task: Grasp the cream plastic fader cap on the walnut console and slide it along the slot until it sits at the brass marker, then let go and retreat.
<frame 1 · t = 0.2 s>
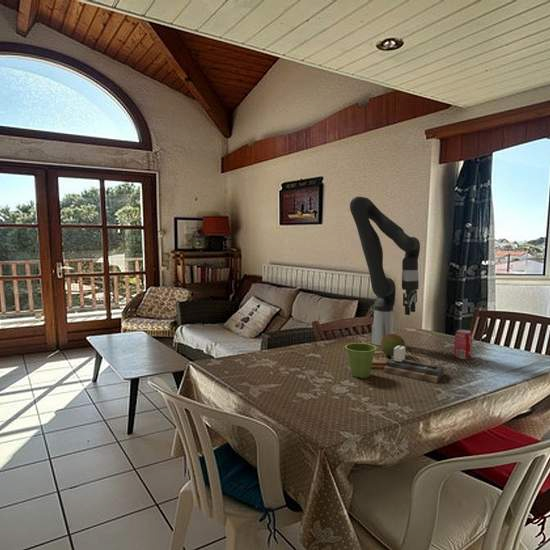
hand: (410, 313, 187), 17 cm above the table, tool pointing down, fingers open, 8 cm apart
fruit: (393, 357, 177), on the table
plant pot: (360, 375, 153), on the table
fader knob: (399, 355, 159), point 6 cm above the table, slide at -6.0 cm
soda can: (462, 358, 175), on the table
console: (413, 372, 156), on the table
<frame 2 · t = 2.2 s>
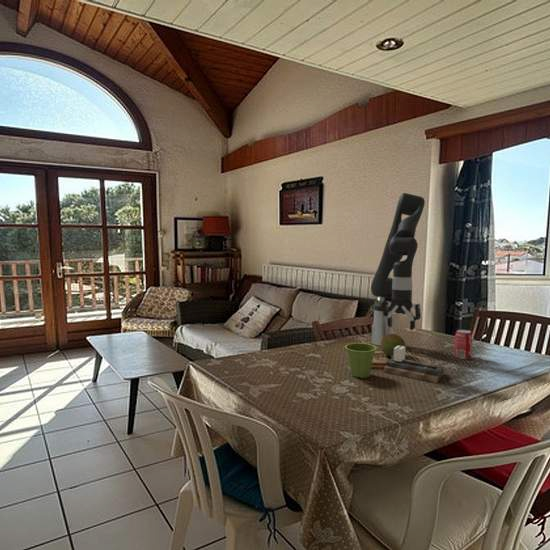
hand: (401, 328, 158), 17 cm above the table, tool pointing down, fingers open, 8 cm apart
nothing on the table moved.
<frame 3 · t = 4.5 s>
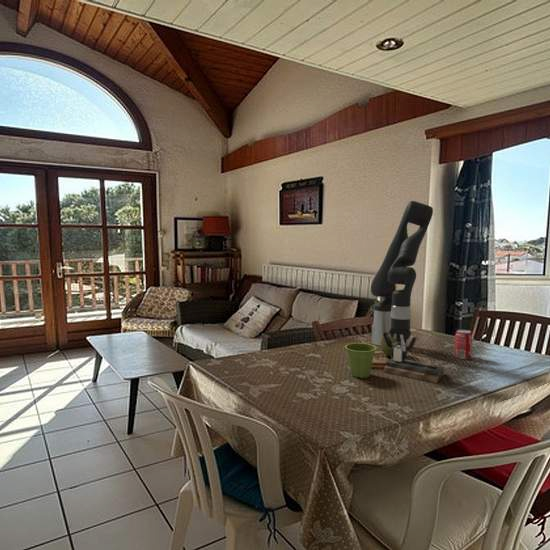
hand: (399, 358, 159), 5 cm above the table, tool pointing down, fingers closed on fader knob, 3 cm apart
fader knob: (399, 355, 159), point 6 cm above the table, slide at -6.0 cm, touching gripper
everything else where it was.
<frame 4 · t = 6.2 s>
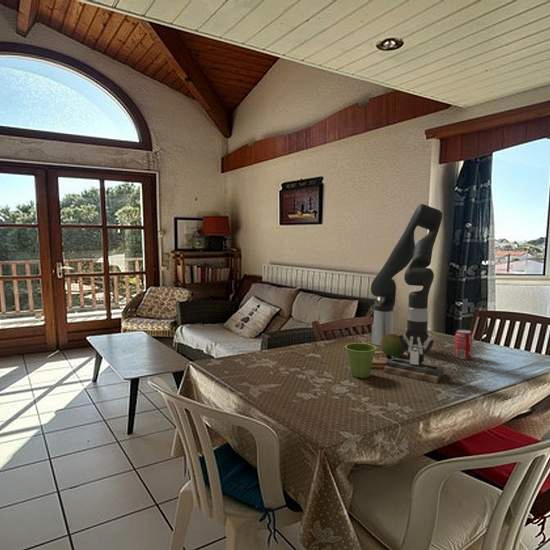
hand: (415, 361, 155), 5 cm above the table, tool pointing down, fingers closed on fader knob, 3 cm apart
fader knob: (415, 358, 155), point 6 cm above the table, slide at 0.6 cm, touching gripper
everything else where it was.
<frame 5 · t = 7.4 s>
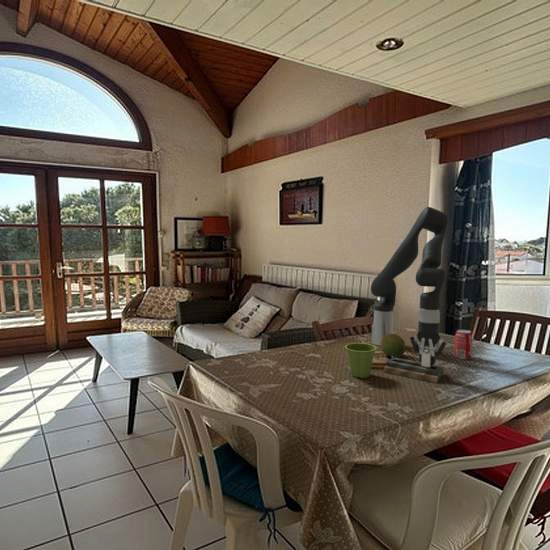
hand: (427, 363, 152), 5 cm above the table, tool pointing down, fingers closed on fader knob, 3 cm apart
fader knob: (427, 360, 152), point 6 cm above the table, slide at 4.9 cm, touching gripper
everything else where it was.
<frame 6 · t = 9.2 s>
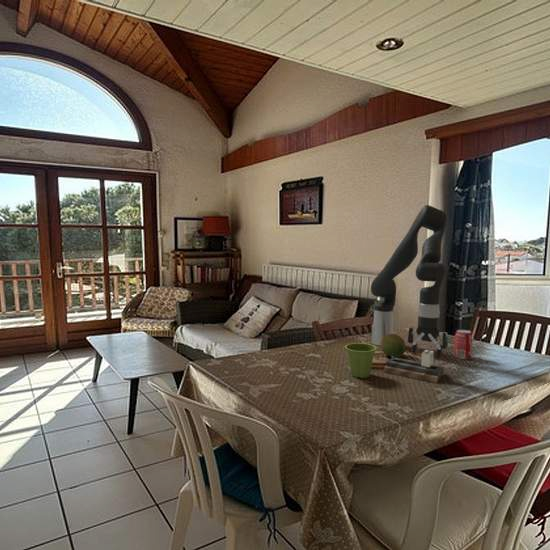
hand: (426, 356, 152), 8 cm above the table, tool pointing down, fingers open, 8 cm apart
fader knob: (427, 360, 152), point 6 cm above the table, slide at 4.9 cm
everything else where it was.
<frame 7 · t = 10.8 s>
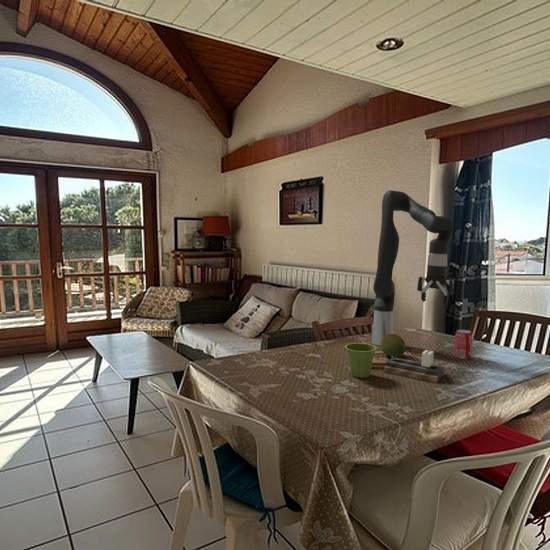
hand: (434, 302, 166), 26 cm above the table, tool pointing down, fingers open, 8 cm apart
nothing on the table moved.
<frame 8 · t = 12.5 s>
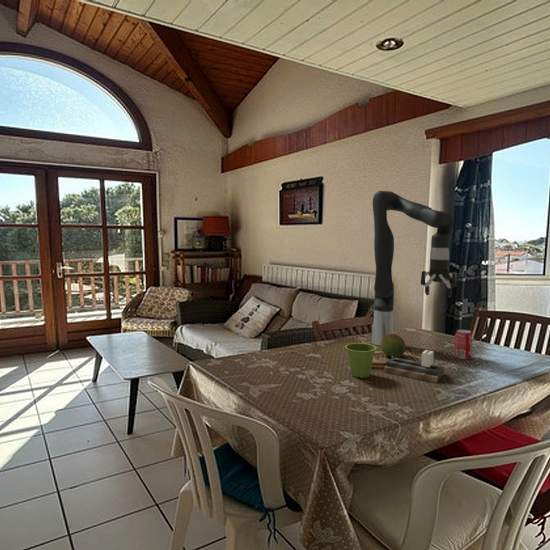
hand: (437, 295, 170), 28 cm above the table, tool pointing down, fingers open, 8 cm apart
nothing on the table moved.
at the end: fader knob slide at 4.9 cm; the gripper is holding nothing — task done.
